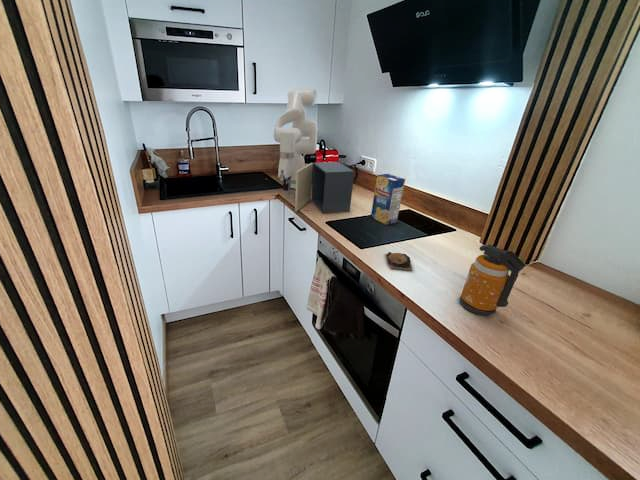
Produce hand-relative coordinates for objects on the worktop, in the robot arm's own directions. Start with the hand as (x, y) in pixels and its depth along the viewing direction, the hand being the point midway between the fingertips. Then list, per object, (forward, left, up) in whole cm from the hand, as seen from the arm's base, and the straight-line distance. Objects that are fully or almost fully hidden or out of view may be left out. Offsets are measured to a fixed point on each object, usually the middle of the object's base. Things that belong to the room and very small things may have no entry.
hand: (286, 189), depth 152 cm
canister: (+89, +40, -11) cm, 98 cm away
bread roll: (+62, +30, -11) cm, 70 cm away
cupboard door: (-4, +8, -10) cm, 14 cm away
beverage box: (+24, +45, -11) cm, 52 cm away
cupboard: (0, +25, -11) cm, 27 cm away
